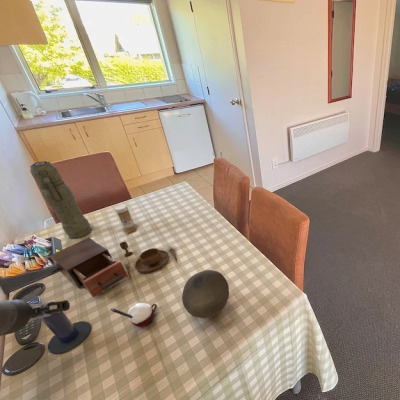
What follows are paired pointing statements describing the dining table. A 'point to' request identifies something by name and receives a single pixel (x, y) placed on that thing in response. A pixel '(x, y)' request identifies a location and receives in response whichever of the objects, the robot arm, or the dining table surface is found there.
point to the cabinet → (77, 257)
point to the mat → (59, 347)
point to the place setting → (148, 259)
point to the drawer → (100, 274)
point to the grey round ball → (205, 294)
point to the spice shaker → (60, 326)
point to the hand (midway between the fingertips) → (48, 310)
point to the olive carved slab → (60, 199)
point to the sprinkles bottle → (125, 218)
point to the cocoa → (139, 314)
